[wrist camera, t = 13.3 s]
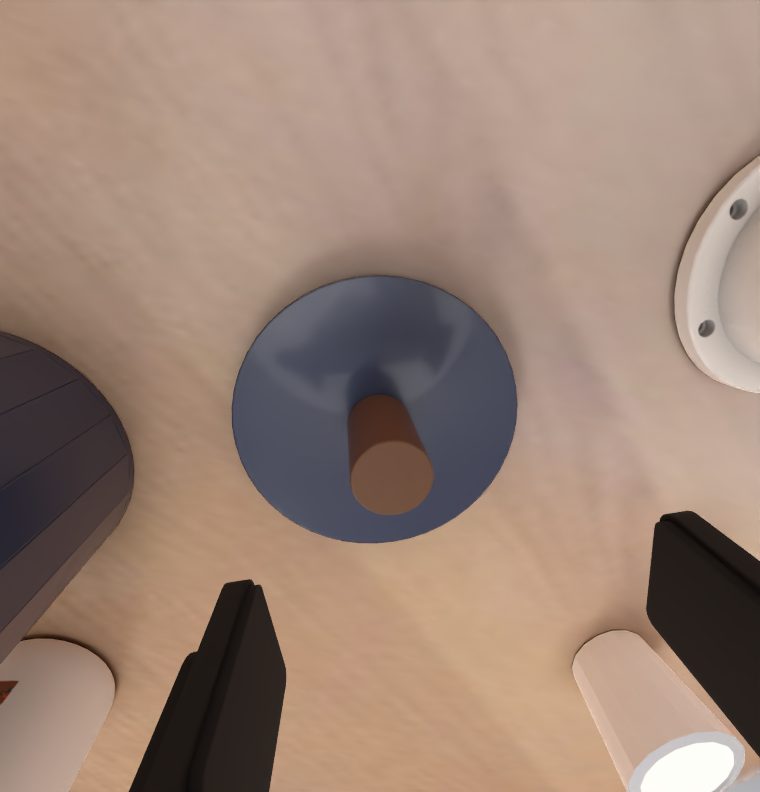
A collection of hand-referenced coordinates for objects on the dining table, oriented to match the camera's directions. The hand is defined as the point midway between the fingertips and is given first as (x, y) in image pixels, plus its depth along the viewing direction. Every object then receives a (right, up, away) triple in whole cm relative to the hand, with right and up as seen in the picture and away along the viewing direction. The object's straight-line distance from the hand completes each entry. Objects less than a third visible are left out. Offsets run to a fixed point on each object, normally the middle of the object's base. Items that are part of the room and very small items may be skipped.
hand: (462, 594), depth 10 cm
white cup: (+15, -14, +20) cm, 28 cm away
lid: (-2, +3, +11) cm, 12 cm away
